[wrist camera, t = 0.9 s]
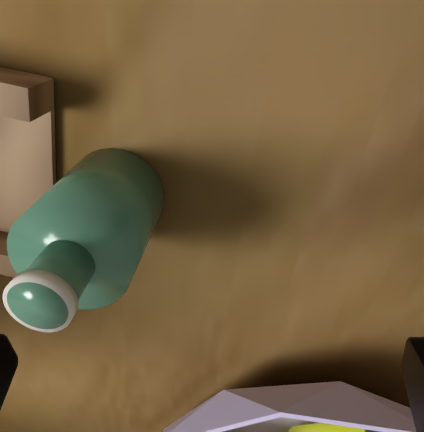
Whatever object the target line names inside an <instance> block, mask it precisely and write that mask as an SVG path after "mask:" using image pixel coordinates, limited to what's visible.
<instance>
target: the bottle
mask: <svg viewBox="0 0 424 432" xmlns="http://www.w3.org/2000/svg"><path fill="white" fill-rule="evenodd" d="M163 205H164V190H163V186H162V183H161V181H160V179H159V177H158V175H157V174H156V172H155V171H154V169H153V168H152V167H151V166H150V165H149V164H148V163H147V162H146V161H144V160H143V159H142V158H140V157H139V156H137V155H135V154H133V153H130V152H128V151H125V150H121V149H112V148H108V149H101V150H97V151H94V152H92V153H90V154H88V155H87V156H85V157H84V158H83V159H82V160H81V161H80V162H79V163H77V164H76V165H75V166H74V167H73V168H72V169H71V170H70V171H69V172H68V173H67V174H65V175H64V176H63V177H62V178H61V179H60V180H59V181H58V182H57V183H56V184H55V185H54V186H52V187H51V188H50V189H49V190H48V191H47V192H46V193H45V194H44V195H43V196H42V197H41V198H39V199H38V200H37V201H36V202H35V203H34V204H33V205H32V206H31V207H30V208H29V209H28V210H26V211H25V212H24V213H23V214H22V215H21V216H20V217H19V218H18V219H17V220H16V221H15V222H14V223H13V225H12V227H11V228H10V230H9V233H8V237H7V252H8V256H9V259H10V262H11V264H12V266H13V268H14V270H15V272H16V273H17V275H16V276H15V277H14V278H13V279H12V280H11V281H10V283H9V284H8V285H7V286H6V287H5V289H4V291H3V303H4V306H5V308H6V310H7V311H8V312H9V314H10V315H11V316H12V317H13V318H14V319H15V320H16V321H18V322H19V323H21V324H22V325H24V326H26V327H28V328H30V329H33V330H36V331H40V332H57V331H60V330H63V329H64V328H66V327H67V326H68V325H69V324H70V322H71V321H72V319H73V317H74V315H75V314H76V312H77V309H82V310H89V309H98V308H102V307H105V306H108V305H110V304H112V303H114V302H115V301H117V300H118V299H119V298H120V297H121V296H122V295H123V294H124V293H125V291H126V290H127V288H128V286H129V284H130V282H131V279H132V277H133V275H134V273H135V270H136V268H137V266H138V264H139V261H140V259H141V257H142V255H143V252H144V250H145V248H146V246H147V243H148V241H149V239H150V237H151V234H152V232H153V230H154V228H155V225H156V223H157V221H158V219H159V216H160V214H161V212H162V209H163Z"/></svg>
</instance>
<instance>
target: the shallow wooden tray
mask: <svg viewBox="0 0 424 432" xmlns="http://www.w3.org/2000/svg"><path fill="white" fill-rule="evenodd" d="M55 184H56V154H55V110H54V78H51V77H46V76H42V75H37V74H33V73H28V72H23V71H19V70H14V69H10V68H5V67H1V66H0V275H5V276H9V277H15V276H16V275H17V273H16V272H15V270H14V268H13V266H12V264H11V262H10V259H9V256H8V252H7V237H8V233H9V230H10V228H11V227H12V225H13V223H14V222H15V221H16V220H17V219H18V218H19V217H20V216H21V215H22V214H23V213H24V212H25V211H26V210H28V209H29V208H30V207H31V206H32V205H33V204H34V203H35V202H36V201H37V200H38V199H39V198H41V197H42V196H43V195H44V194H45V193H46V192H47V191H48V190H49V189H50V188H51V187H52V186H54V185H55Z"/></svg>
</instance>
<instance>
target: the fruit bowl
mask: <svg viewBox="0 0 424 432" xmlns="http://www.w3.org/2000/svg"><path fill="white" fill-rule="evenodd" d="M162 432H416V428H415V424H414V420H413V416H412V412H411V408H409V407H407V406H404V405H402V404H399V403H396V402H394V401H391V400H388V399H386V398H383V397H381V396H378V395H375V394H373V393H370V392H367V391H365V390H362V389H360V388H357V387H354V386H352V385H349V384H346V383H344V382H341V381H336V382H322V383H308V384H294V385H280V386H267V387H253V388H239V389H225V390H222V391H221V392H219V393H217V394H216V395H214V396H213V397H211V398H210V399H208V400H207V401H205V402H204V403H202V404H201V405H199V406H198V407H196V408H195V409H193V410H192V411H190V412H188V413H187V414H185V415H184V416H182V417H181V418H179V419H178V420H176V421H175V422H173V423H172V424H170V425H169V426H167V427H166V428H164V429H163V431H162Z"/></svg>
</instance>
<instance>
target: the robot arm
mask: <svg viewBox="0 0 424 432" xmlns="http://www.w3.org/2000/svg"><path fill="white" fill-rule="evenodd" d="M17 366H18V357H17V354H16V352H15V351H14V349H13V347H12V345H11V343H10V341H9V339H8V338H7V336H6V335H4V334H0V410H1V407H2V404H3V402H4V399H5V397H6V394H7V392H8V389H9V387H10V384H11V382H12V379H13V376H14V374H15V371H16V369H17ZM402 375H403V379H404V383H405V387H406V391H407V396H408V400H409V404H410V408H411V412H412V416H413V420H414V424H415V428H416V432H424V337H409V338H408V339H407V341H406V345H405V350H404V355H403V361H402Z"/></svg>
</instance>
